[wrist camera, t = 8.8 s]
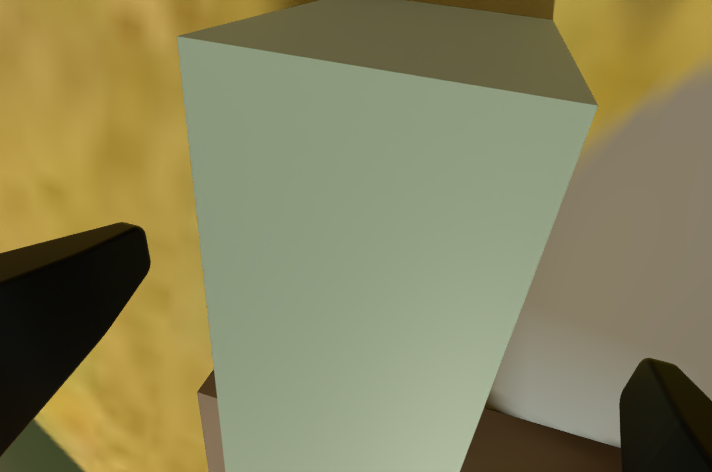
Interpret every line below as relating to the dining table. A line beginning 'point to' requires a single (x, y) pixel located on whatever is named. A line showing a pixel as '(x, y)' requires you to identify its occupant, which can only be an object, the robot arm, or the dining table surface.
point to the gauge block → (372, 220)
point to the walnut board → (471, 444)
